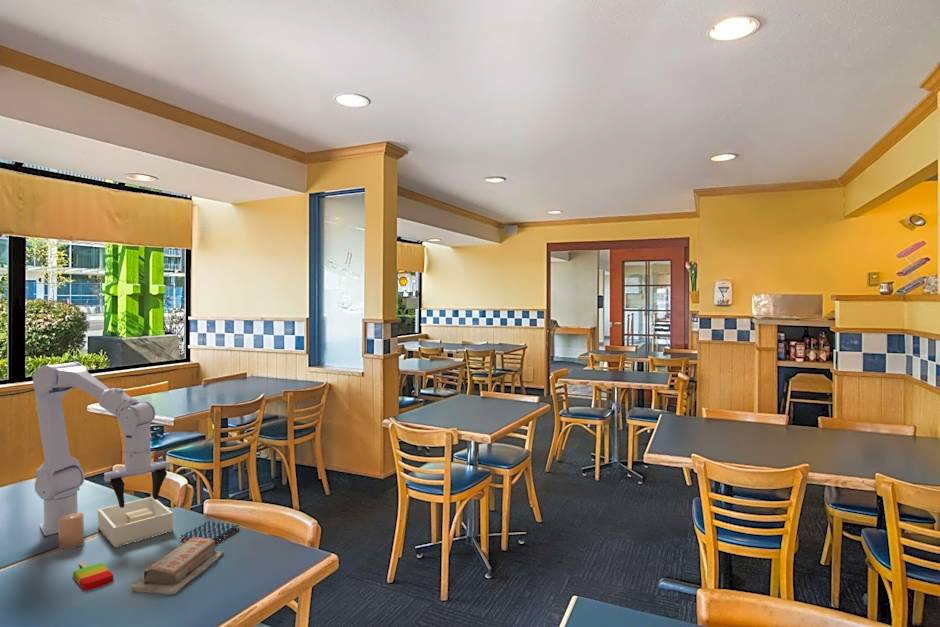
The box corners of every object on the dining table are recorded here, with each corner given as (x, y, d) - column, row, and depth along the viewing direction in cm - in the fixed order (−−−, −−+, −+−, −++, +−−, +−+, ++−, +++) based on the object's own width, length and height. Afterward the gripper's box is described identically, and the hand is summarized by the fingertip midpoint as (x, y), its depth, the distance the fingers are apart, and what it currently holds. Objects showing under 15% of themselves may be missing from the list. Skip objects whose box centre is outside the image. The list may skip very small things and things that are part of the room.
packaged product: (185, 534, 130) (224, 536, 129) (185, 554, 130) (224, 556, 129) (129, 570, 112) (173, 573, 111) (129, 593, 113) (174, 597, 111)
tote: (98, 527, 145) (97, 509, 145) (153, 513, 154) (153, 496, 154) (114, 548, 133) (113, 527, 133) (173, 531, 142) (172, 512, 142)
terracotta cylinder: (57, 544, 135) (56, 516, 135) (81, 538, 139) (81, 511, 138) (61, 551, 132) (60, 522, 131) (86, 544, 135) (85, 516, 135)
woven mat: (207, 527, 146) (207, 519, 146) (241, 531, 143) (241, 523, 143) (177, 543, 136) (177, 535, 136) (212, 548, 133) (212, 540, 133)
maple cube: (125, 532, 141) (125, 513, 140) (147, 526, 144) (147, 507, 144) (131, 538, 137) (130, 518, 137) (153, 531, 141) (152, 512, 141)
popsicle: (84, 593, 113) (84, 584, 113) (66, 570, 123) (66, 562, 123) (115, 583, 117) (115, 574, 117) (95, 562, 127) (95, 554, 127)
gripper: (108, 459, 132) (109, 514, 133) (173, 447, 143) (174, 499, 143) (101, 453, 137) (102, 507, 138) (164, 442, 148) (165, 492, 148)
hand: (138, 502), depth 141 cm, fingers open, 7 cm apart
